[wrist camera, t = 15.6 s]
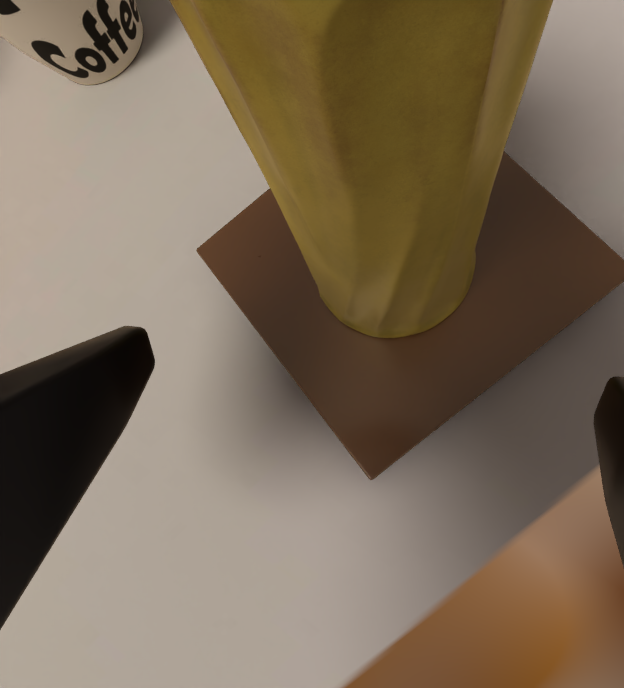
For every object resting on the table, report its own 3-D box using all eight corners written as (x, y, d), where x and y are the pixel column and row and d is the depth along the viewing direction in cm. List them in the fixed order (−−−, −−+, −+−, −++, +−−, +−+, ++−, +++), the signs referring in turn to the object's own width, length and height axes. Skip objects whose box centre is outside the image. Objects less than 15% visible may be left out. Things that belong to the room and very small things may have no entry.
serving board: (624, 279, 17) (637, 270, 16) (372, 478, 18) (370, 481, 17) (412, 85, 20) (412, 67, 19) (204, 257, 21) (194, 249, 20)
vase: (286, 251, 19) (-32, -224, 5) (408, 161, 19) (413, -605, 5) (374, 371, 17) (247, 140, 4) (509, 274, 17) (944, -393, 3)
